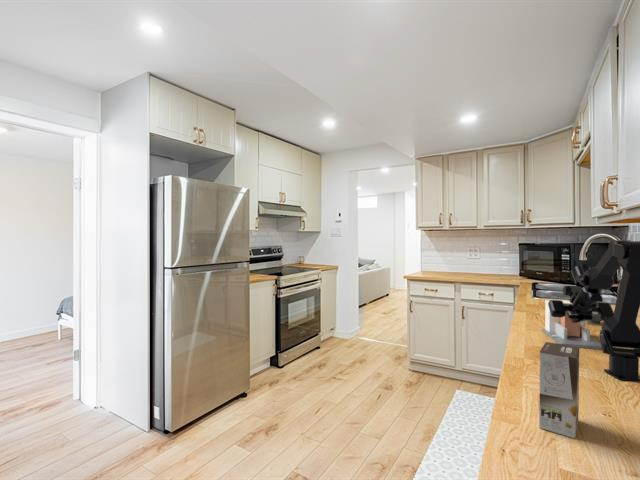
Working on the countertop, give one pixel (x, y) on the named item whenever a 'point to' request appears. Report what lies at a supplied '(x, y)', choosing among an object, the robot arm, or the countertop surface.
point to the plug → (570, 326)
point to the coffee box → (559, 388)
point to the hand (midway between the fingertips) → (573, 321)
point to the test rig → (560, 332)
